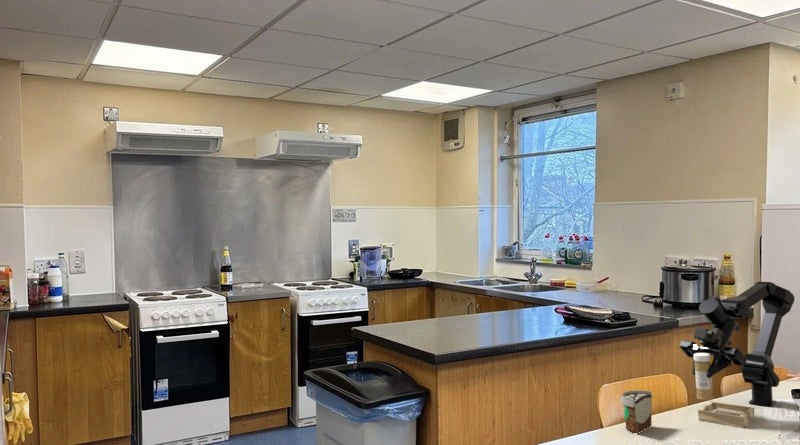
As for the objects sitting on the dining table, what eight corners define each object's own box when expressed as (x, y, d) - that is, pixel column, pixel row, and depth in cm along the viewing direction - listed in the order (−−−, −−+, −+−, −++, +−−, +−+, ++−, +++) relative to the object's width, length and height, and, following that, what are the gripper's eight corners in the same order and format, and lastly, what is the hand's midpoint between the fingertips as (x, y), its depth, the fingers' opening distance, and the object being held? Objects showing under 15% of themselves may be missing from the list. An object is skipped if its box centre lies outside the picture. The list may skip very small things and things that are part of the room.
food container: (633, 421, 183) (631, 387, 183) (653, 425, 178) (652, 391, 179) (614, 431, 174) (612, 396, 174) (635, 436, 170) (633, 400, 170)
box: (711, 411, 190) (710, 401, 190) (754, 417, 182) (754, 407, 182) (698, 420, 181) (698, 410, 181) (743, 428, 173) (742, 417, 173)
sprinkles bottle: (715, 398, 182) (712, 353, 182) (709, 401, 179) (706, 356, 179) (699, 395, 185) (697, 351, 186) (693, 399, 182) (690, 354, 182)
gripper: (680, 314, 192) (659, 354, 187) (737, 320, 176) (716, 364, 171) (698, 336, 196) (678, 376, 191) (755, 343, 180) (735, 387, 174)
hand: (700, 375), depth 182 cm, fingers closed on sprinkles bottle, 4 cm apart
